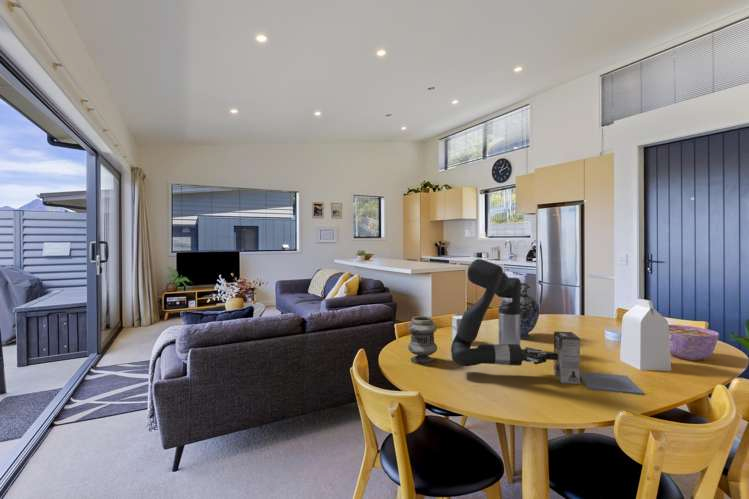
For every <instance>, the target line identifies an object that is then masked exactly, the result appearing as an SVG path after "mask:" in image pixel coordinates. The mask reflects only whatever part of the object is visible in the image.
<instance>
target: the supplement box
mask: <svg viewBox="0 0 749 499" xmlns="http://www.w3.org/2000/svg"><path fill="white" fill-rule="evenodd" d="M462 317H463V315H452V316H451V340H452V342H453V340H454V338H455V336H456V334H457V332H458V329H459V325H460V322H461V319H462Z"/></svg>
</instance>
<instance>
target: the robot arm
mask: <svg viewBox="0 0 749 499" xmlns="http://www.w3.org/2000/svg"><path fill="white" fill-rule="evenodd" d="M466 275H467V278H468V279H467V280H468V281H469V282H470V283H471V284H473V285H475V286H479V287H481V288H484V289H485V291H484V294H483V295H482V297H480V298H479V300H478V301H477V302H475V303H474V304H473V305H471V306H470V307H468V309H466V310H465V312H464V313H463V315H462V316H463V317H462V319H461V322H460V325H459V329H458V332H457V334H456V336H455V338H454V340H453V341H452V342H451V347H450V353H451V359H452V362H453V363H454V364H455V365H458V366H460V367H472V366H478V365H482V364H486V365H499V366H517V367H518V366H519V367H520V366H522V364H523V362H527V363H533V364H534V365H540V364H543V363H547V361H548V360H549V361H552V360H553V361H554V360H557V359H558V354H556V353H554V352H553V351H552V352H551V351H550V352H548V351H547V352H546V351H544V350H541V349H537V348H532V347H528V346H526V347H525V348H522V347H521V340H520V298H521V283H522V282H521V280H520V278H518V277H509V276H508V275H507V274H506V273H505V272H504V270H503V268H502V266H501V265H499V264H495V263H493V262H490V261H487V260H484V259H481V258H479V259H474V260H473V261H472V262H471V263H470V264H469V266H468V267H467V273H466ZM495 295H496V296H497V297H498V298H503V299H504V298H512V302H510V303H508V304H505V305H501V304H500V305H499V306H498V343H496V344H493V343H481V344H478V345H477V347H473V348H471V346H472V343H473V342H474V341H475V340H476V339H477V337H478V335H479V334H478V333H479V331H480V328H481V324H482V322H483V320H484V317H485V315H486V313H487V311H488V308H489V307H490V305H491V303H492V300H493V298H494V297H495Z"/></svg>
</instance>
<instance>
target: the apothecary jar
mask: <svg viewBox="0 0 749 499" xmlns="http://www.w3.org/2000/svg"><path fill="white" fill-rule="evenodd" d="M433 321H434V320H433V317H431V316H427V315H426V316H425V315H420V316H419V315H418V316H417V315H416V316H413V317H412V318H411V322H409V324H408V328H407V329H408V331H410V342H409V343H408V346H407V349H408V351H409V352H410V353H411V354H413V355H415V356H412V357H411V358H410V361H411V363H413V364H416V365H417V364H418V365H431V364H433V363H435V358H433V357H431V355H433V354H435V353H436V352H437V350H438V345H437V344H436V343H435V335H434V334H435V332H436V331H437V325H436V323H434V322H433Z"/></svg>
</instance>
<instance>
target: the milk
mask: <svg viewBox="0 0 749 499" xmlns="http://www.w3.org/2000/svg"><path fill="white" fill-rule="evenodd" d="M621 321H622V322H621V335H620V337H621V338H620V348H619V349H620V350H619V352H620V353H619V361H620V360H621V362H622V361H623V362H622V363H624V362H625V364H626V363H627V365H628V364H629V365H628V366H630V365H631V366H630V367H632V366H633V368H634V367H635V368H634V369H636V368H637V369H636V370H638V369H639V371H640V370H660V371H661V372H663V371H665V372H667V371H668V372H670V371H672V362H671V353H670V343H669V326H668V325H669V321H668V320H667V318H665V316H663V315H662V314H661V313H660V312H659V311H657V309H655V308H654V305H653V301H652V300H648V299H643V298H637V299H636V304H635V305H634V306H633V307H631V308H630V309H629V310H628V311H626V312H625V313H624V314H623V316H622V320H621Z"/></svg>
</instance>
